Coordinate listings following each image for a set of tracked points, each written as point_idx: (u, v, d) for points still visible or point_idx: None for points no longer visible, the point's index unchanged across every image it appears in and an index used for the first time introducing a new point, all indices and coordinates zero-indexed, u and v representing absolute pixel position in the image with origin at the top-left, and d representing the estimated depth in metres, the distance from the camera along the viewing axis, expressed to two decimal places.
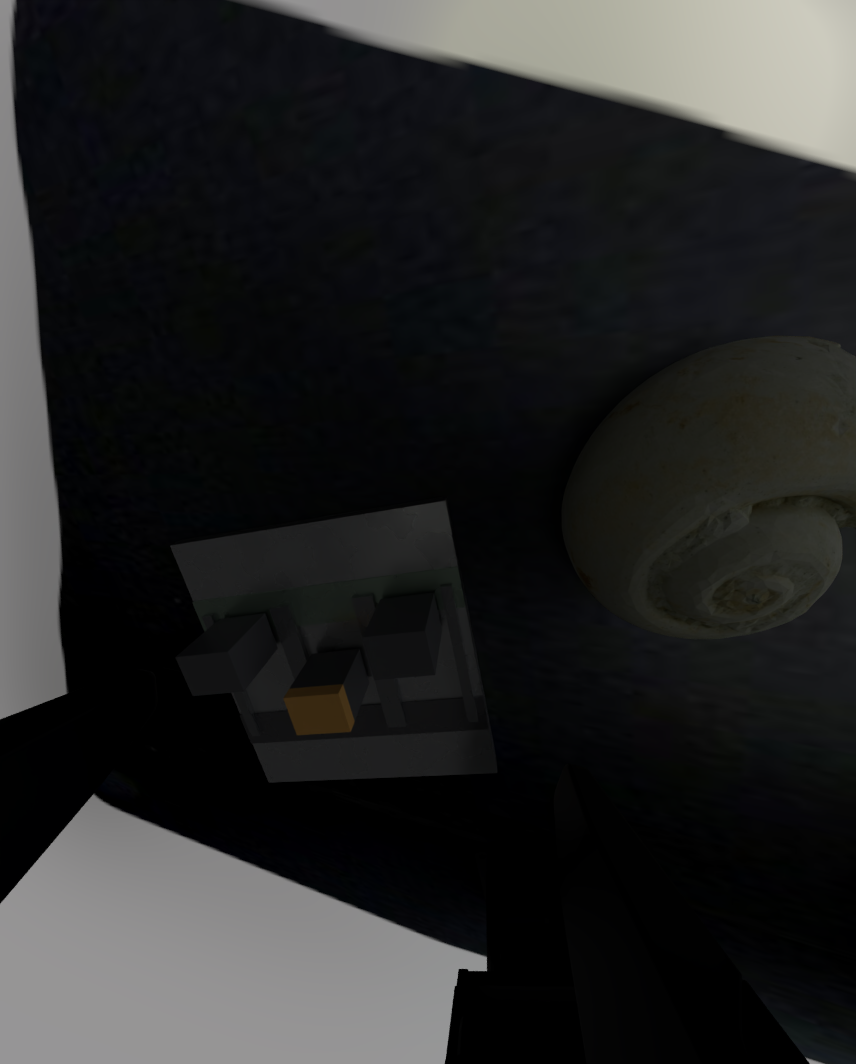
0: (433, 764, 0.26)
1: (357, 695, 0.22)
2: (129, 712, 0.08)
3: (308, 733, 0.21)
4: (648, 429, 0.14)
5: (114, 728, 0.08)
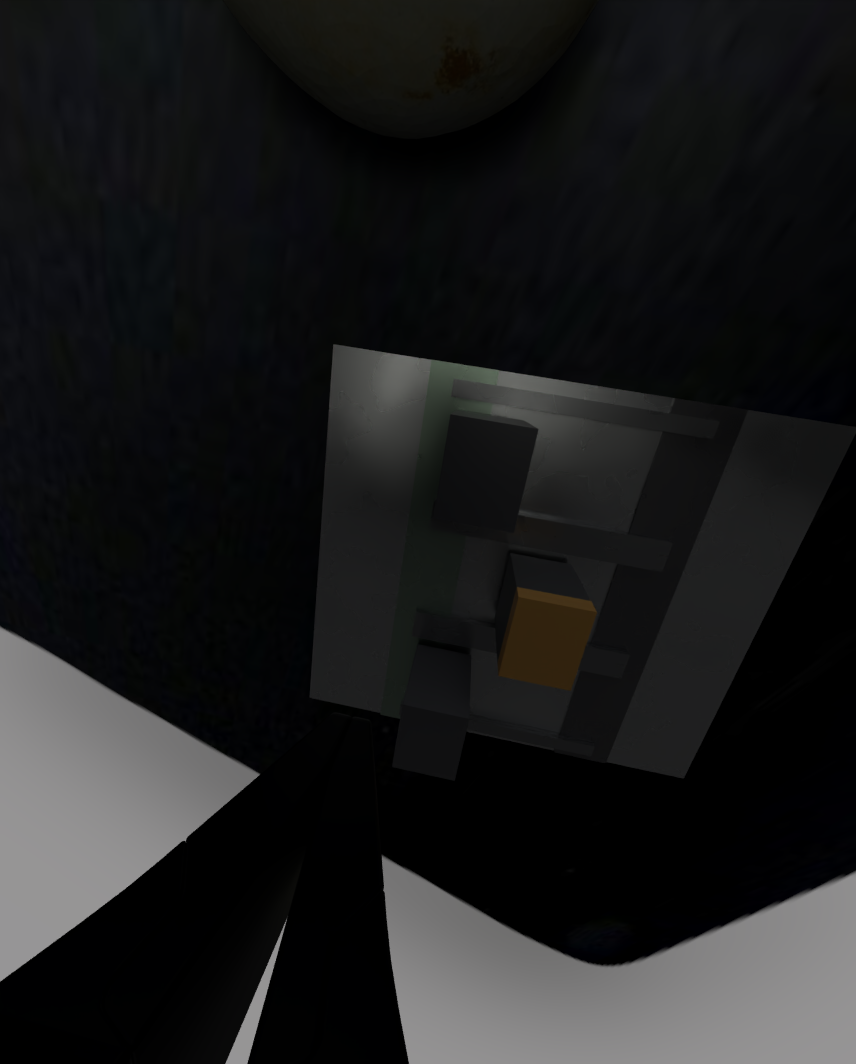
0: (775, 533, 0.15)
1: (561, 581, 0.14)
2: None
3: (574, 673, 0.13)
4: None
5: None
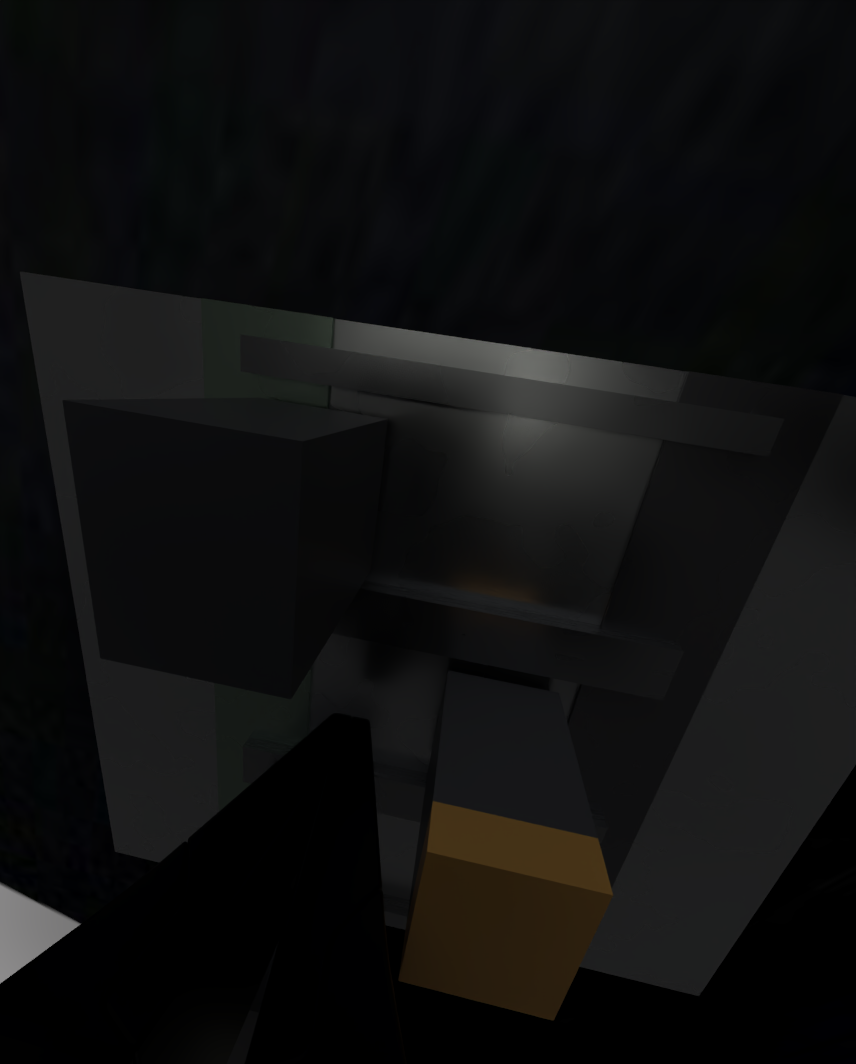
0: None
1: (534, 761, 0.07)
2: None
3: (560, 994, 0.06)
4: None
5: None
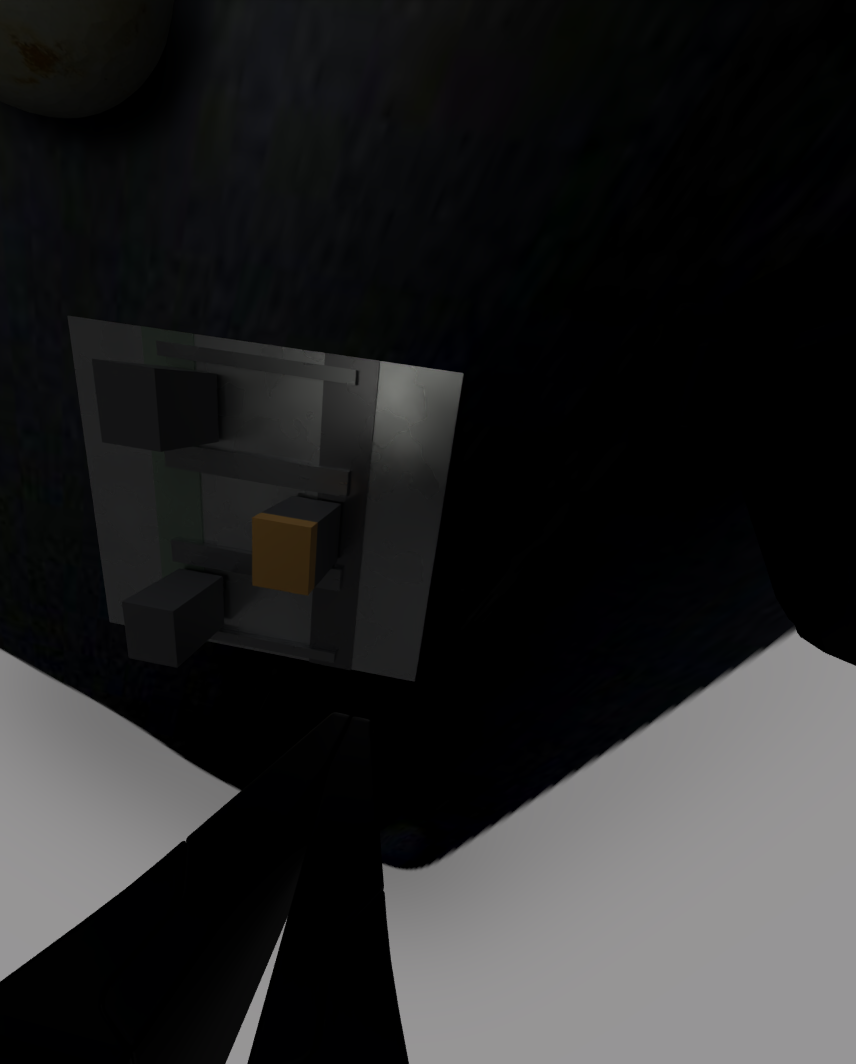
0: (427, 462, 0.18)
1: (310, 511, 0.17)
2: None
3: (307, 580, 0.17)
4: None
5: None
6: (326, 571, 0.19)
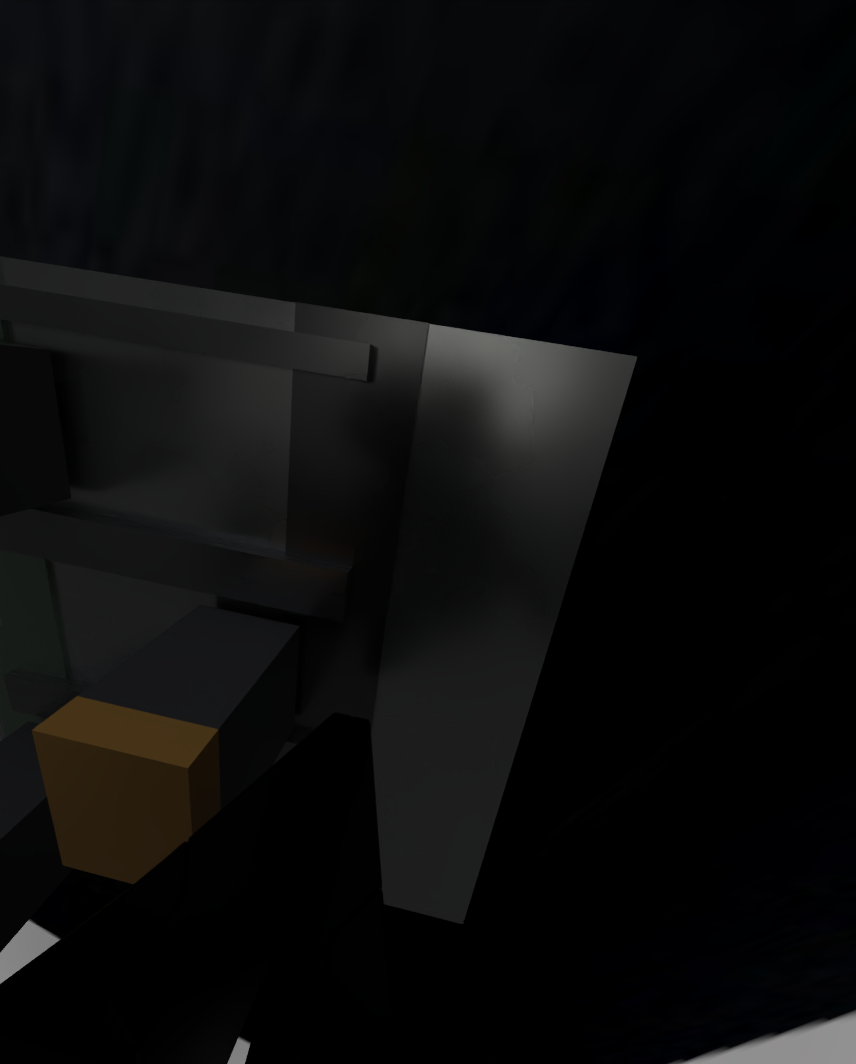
0: (525, 557, 0.08)
1: (215, 673, 0.07)
2: None
3: None
4: None
5: None
6: None
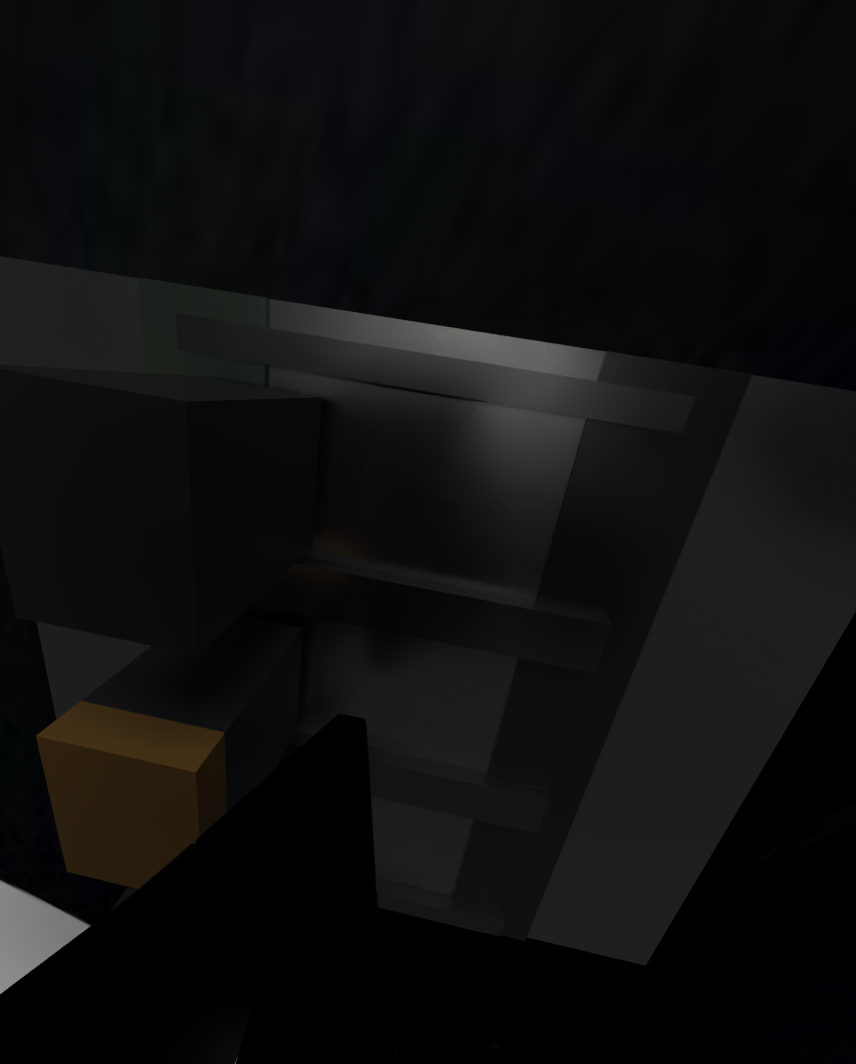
0: (800, 608, 0.08)
1: (220, 676, 0.07)
2: None
3: None
4: None
5: None
6: None
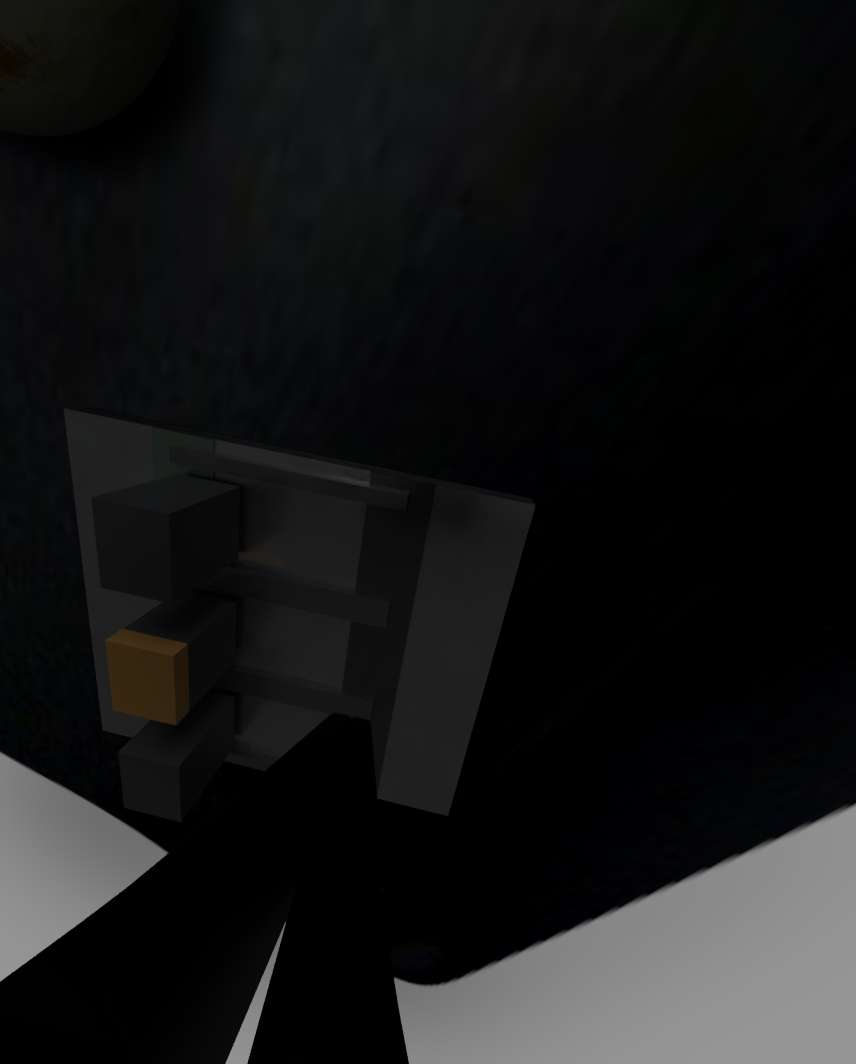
0: (483, 596, 0.16)
1: (188, 622, 0.15)
2: None
3: (174, 710, 0.14)
4: None
5: None
6: (213, 681, 0.16)
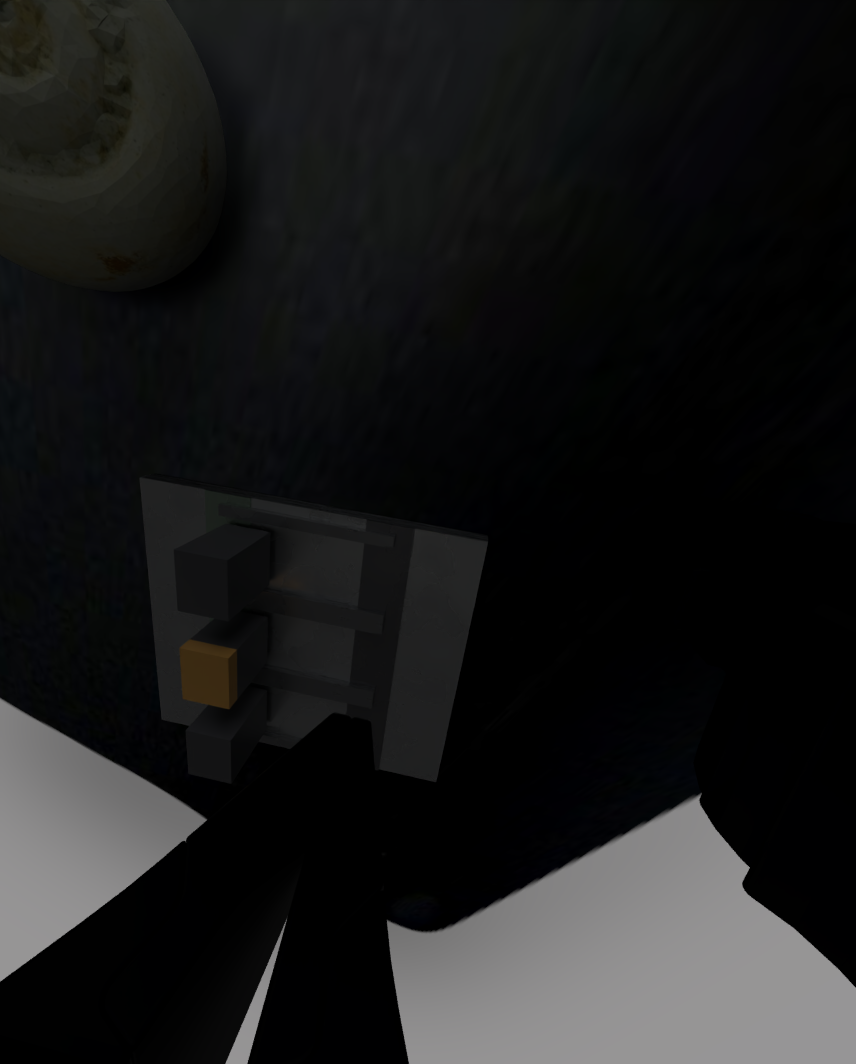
0: (454, 609, 0.21)
1: (234, 633, 0.20)
2: None
3: (227, 698, 0.19)
4: None
5: None
6: (253, 677, 0.22)
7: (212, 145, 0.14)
